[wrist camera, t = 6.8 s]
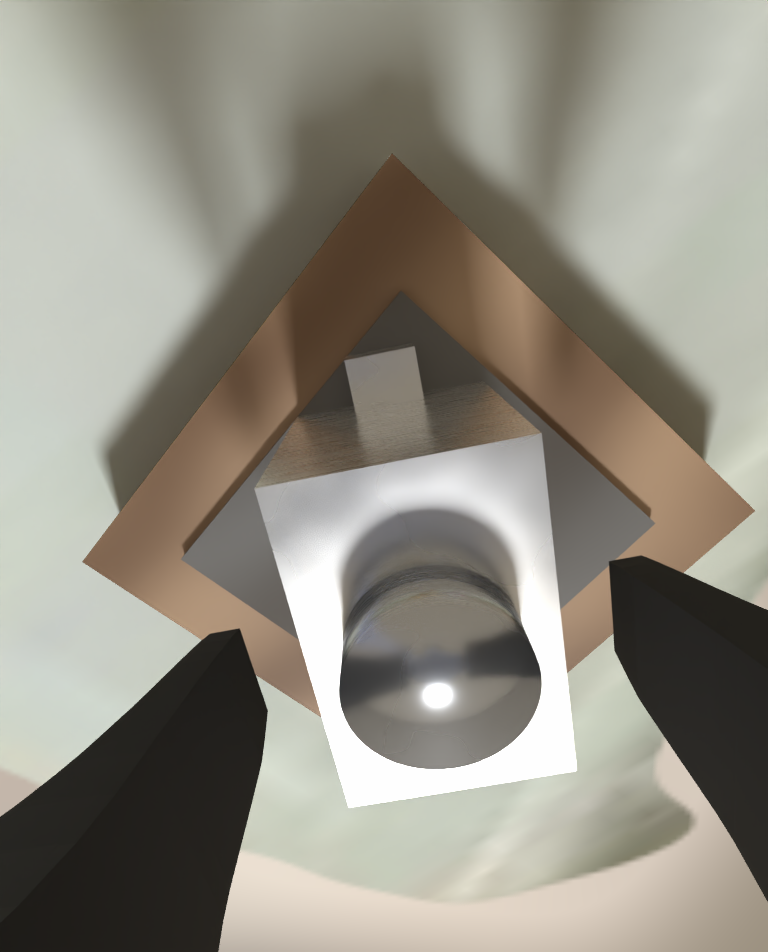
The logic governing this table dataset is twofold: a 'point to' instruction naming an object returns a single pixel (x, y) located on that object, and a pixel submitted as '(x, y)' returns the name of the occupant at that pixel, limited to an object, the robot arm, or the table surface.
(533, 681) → the housing
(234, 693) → the robot arm
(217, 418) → the stand
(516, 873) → the table surface
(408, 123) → the table surface
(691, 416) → the table surface
